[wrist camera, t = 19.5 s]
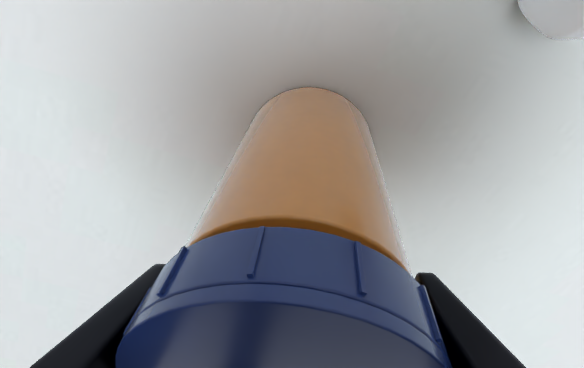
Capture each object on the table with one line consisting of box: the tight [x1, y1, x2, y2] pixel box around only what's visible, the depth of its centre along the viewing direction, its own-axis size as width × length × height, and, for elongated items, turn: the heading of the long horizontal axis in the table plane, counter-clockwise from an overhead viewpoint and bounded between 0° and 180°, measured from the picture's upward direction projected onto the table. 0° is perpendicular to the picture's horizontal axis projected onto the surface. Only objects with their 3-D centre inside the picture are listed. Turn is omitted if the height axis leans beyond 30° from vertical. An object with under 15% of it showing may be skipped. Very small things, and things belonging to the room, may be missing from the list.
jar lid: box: [115, 226, 452, 368], centre depth 7 cm, size 7×7×2 cm
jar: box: [185, 87, 413, 277], centre depth 12 cm, size 7×7×12 cm
